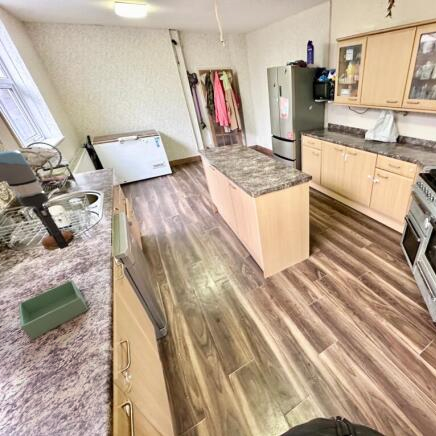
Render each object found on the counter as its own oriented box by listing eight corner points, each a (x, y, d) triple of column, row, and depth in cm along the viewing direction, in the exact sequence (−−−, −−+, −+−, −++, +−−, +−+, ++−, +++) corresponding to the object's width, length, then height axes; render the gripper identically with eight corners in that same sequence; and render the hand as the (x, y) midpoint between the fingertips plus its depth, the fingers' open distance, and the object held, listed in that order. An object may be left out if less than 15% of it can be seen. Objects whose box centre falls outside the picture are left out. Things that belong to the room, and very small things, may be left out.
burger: (39, 252, 93) (32, 242, 90) (55, 239, 101) (50, 230, 99) (67, 249, 94) (61, 239, 92) (81, 237, 102) (76, 227, 100)
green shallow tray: (28, 315, 76) (18, 303, 74) (79, 290, 85) (72, 279, 82) (32, 339, 68) (20, 327, 66) (88, 309, 77) (80, 298, 74)
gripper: (51, 196, 83) (80, 247, 94) (37, 185, 95) (64, 232, 106) (22, 203, 78) (56, 257, 89) (11, 191, 90) (42, 239, 101)
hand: (61, 243), depth 97 cm, fingers closed on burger, 10 cm apart
